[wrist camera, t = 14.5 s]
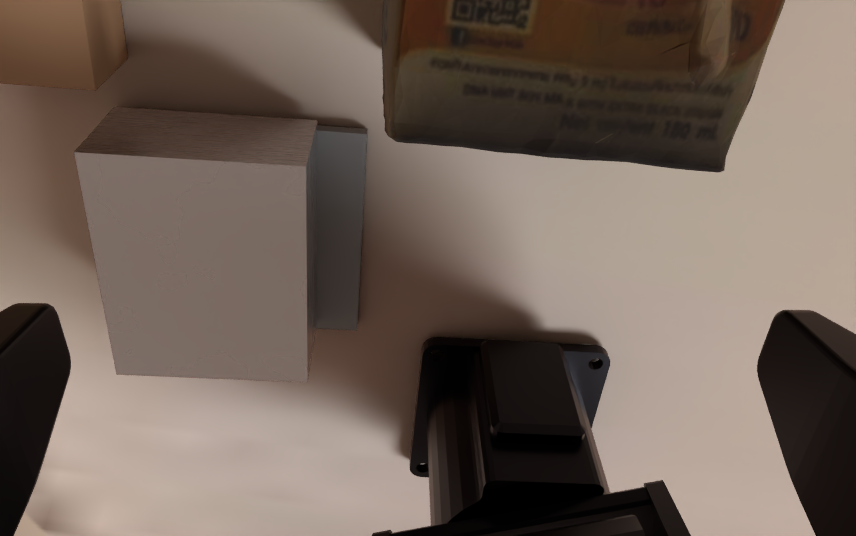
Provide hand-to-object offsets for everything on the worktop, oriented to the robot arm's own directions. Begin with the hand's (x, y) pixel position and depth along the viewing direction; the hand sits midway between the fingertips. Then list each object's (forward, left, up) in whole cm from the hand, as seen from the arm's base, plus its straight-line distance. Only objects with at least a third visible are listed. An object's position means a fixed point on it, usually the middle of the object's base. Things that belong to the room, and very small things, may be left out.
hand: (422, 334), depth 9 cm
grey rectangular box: (-6, +5, -12) cm, 14 cm away
